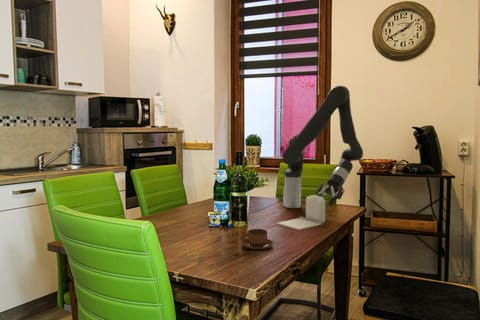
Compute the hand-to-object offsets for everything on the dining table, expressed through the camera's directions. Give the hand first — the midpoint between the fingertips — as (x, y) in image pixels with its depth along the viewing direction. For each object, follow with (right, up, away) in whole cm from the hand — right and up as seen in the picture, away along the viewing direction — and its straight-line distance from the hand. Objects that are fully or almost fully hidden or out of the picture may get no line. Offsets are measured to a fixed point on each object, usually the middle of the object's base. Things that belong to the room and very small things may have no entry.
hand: (322, 203), depth 198 cm
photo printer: (-4, -8, -2) cm, 10 cm away
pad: (-13, -9, -9) cm, 18 cm away
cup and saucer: (-34, -12, -44) cm, 57 cm away
